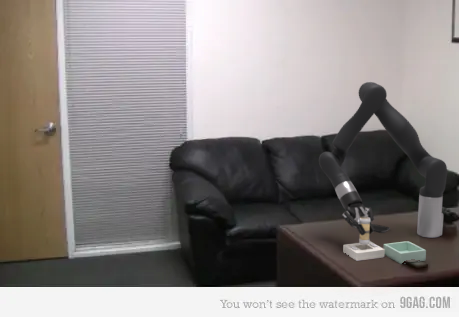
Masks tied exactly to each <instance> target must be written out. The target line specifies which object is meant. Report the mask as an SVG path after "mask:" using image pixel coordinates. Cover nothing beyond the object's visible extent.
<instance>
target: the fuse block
mask: <svg viewBox="0 0 459 317" xmlns="http://www.w3.org/2000/svg"><path fill="white" fill-rule="evenodd" d="M342 248H343V250H342V253H344V254H345V253H346V254H345V255H347V256H348V255H349V256H348V257H349V258H351V259H353V260H354V261H356V262H358V261H365V260H373V259H380V258H381V259H382V258H385V255H384V254H385V249H384V247H381V246H379V245H377V244H375V243H374V242H372V241H370V244H368V245H362V244H359V242H354V243H346V244H343V247H342Z"/></svg>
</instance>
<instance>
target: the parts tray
mask: <svg viewBox="0 0 459 317" xmlns="http://www.w3.org/2000/svg"><path fill="white" fill-rule="evenodd" d="M383 249H385V254H384V256H386V257H388V258H389V259H391V260H392V261H394V262H397V263H398V264H400V265H403V264H402V263H403V262H404V261H406V260H411V259H415V260H420V261H419V262H424V261H426V260H427V259H426V256H427V250H426V249H424V248H423V247H421V246H419V245H417V244H415V243H412V242H411V241H409V240H407V241H400V242H399V241H398V242H391V243H383Z"/></svg>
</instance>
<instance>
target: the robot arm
mask: <svg viewBox="0 0 459 317" xmlns="http://www.w3.org/2000/svg"><path fill="white" fill-rule="evenodd" d="M358 98H359V99H360V102H361V103H360V105H359V107H358V109H356V111H355V112H354V113H353V115H352V116H351V117H350V118H349V119H348V120H347V121H346V122H345V123H344V124H343V125H342V127H341V128H340V129H339V131H338V132H337V134H336V135H335V137H334V139H333V141H332V146H333V149H332V151H331V152H330V151H324V152H322V153H320V154H319V157H318V165H319V167H320V169H321V170H322V172H323V173H324V174H325V175H326V177H327V178H328V179H329V181H330V182H331V185H332V186H333V188H334V190H335V193H336V195H337V199H339V201H340V203H341V205H342V207H343V209H344V210H345V211H344V212H343V213H342V214H341V218H343V219H344V220H345V221H346V222H347V224H348V225H349V226H350V227H352V228H354V227H353V226H355V227H357V228H356V229H357V231H358V233H359V235H360V234H361V235H364V234H365V233H366V232H365V230H364V228H363V226H362V224H361V222H360V217H369V218H370V232H369V235H371V234H373V233H374V228H373V226H372V224H373V223H372V222H373V221H374V220H375V218H374V213H373V208H372V207H371V206H369V207H366V206H365V205H364V204H363V200H362V197H361V196H360V194H359V192H358V191H357V189H356V187H355V186H354V185H355V184H353V182H352V180H351V179H350V177H349V175H348V173H347V172H345V170H343V169H342V165H343V164H344V162H345V159H346V157H347V154H348V151H349V149H350V148H351V146H352V145H353V143H354V141H355V140H356V138H357V136H358V135H359V134H360V132H361V131H362V129H363V128H364V127H365V125H367V123H368V121H369V120H370V119H371V118H372V117H373V116H374V115H375V117H377V119H378V121H379V122H380V124H381V125H382V126H383V128H384V129H385V131H386V132H387V133H388V135H389V136H390V137H391V139H392V140H393V141H394V142H395V143H396V145H397V146H398V147H399V148H400V149H401V151H403V153H404V154H405V155H406V156H407V157H408V159H410V161H411V162H412V164H413V166H414V168H416V171H417V172H418V173H419V175H420V176H421V177H423V178H425V181H424V182H425V183H424V186H421V187H420V189H419V195H418V196H419V197H418V211H417V212H418V213H417V215H418V216H417V229H416V230H417V231H416V234H417V235H418V236H420V237H423V238H433V239H434V238H440V236H443V229H444V228H443V227H444V226H443V225H444V213H443V197H444V196H443V195H444V192H445V190H446V186H447V175H448V166H447V164H446V163H445V161H444V160H442V159H440V158H438V157H434V156H432V155H431V154H430V153H429V152H428V151H427V150H426V149H425V148H424V147H423V145H422V143H421V141H420V137H419V134H418V132H417V130H416V129H415V128H414V126H413V125H412V124H411V122H409V120H408V119H407V118H406V116H404V115H403V114H402V113H401V112H400V111H399V110H397V109H396V108H395V107H394V106H393V105H392V104H391V103H390V102H389V101H388V99H387V91H386V89H385V88H384V86H383V85H380V84H378V83H376V82H371V81H370V82H368V81H367V82H364V83H362V84H361V85H360V86H359V89H358Z"/></svg>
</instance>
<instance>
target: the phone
mask: <svg viewBox="0 0 459 317" xmlns="http://www.w3.org/2000/svg"><path fill="white" fill-rule="evenodd" d="M371 224H372V226H373V228H374V232H375V233H379V234H385V233H387V232H388V231H391V227H389V226H385V225H380V224H379V225H378V224H376V223H371ZM352 228H355V229H357V227H355V226H353V227H352ZM374 232H373V233H374Z"/></svg>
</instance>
